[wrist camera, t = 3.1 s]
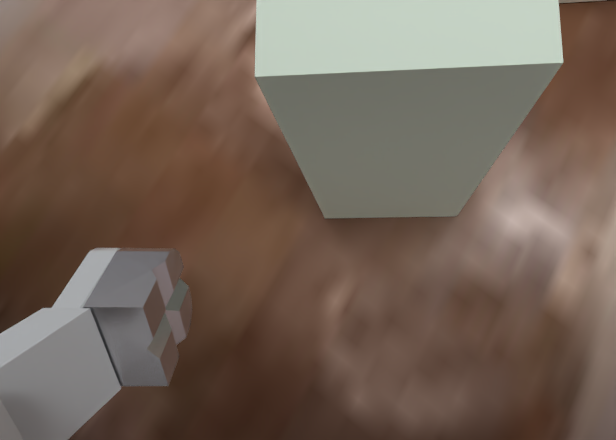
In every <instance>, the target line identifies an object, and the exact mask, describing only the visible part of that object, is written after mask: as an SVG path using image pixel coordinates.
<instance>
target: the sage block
mask: <svg viewBox="0 0 616 440" xmlns="http://www.w3.org/2000/svg"><path fill="white" fill-rule="evenodd" d="M562 64H563V53H562V40H561V28H560V15H559V2H558V0H257V6H256V47H255V78H256V80H257V82H258V84H259V86H260V88H261V90H262V92H263V94H264V96H265V98H266V101H267V103H268V105H269V107H270V109H271V111H272V113H273V115H274V117H275V119H276V121H277V123H278V125H279V127H280V129H281V131H282V133H283V135H284V137H285V139H286V141H287V143H288V145H289V147H290V149H291V151H292V153H293V155H294V157H295V159H296V161H297V163H298V165H299V167H300V169H301V171H302V173H303V175H304V177H305V179H306V181H307V183H308V185H309V187H310V189H311V191H312V193H313V195H314V197H315V199H316V201H317V203H318V205H319V207H320V209H321V211H322V213H323V215H324V218H385V217H448V216H457V215H458V214H459V213H460V211H461V210H462V208H463V207H464V205H465V204H466V202H467V201H468V200H469V198H470V197H471V195H472V194H473V192H474V191H475V189H476V188H477V187H478V185H479V184H480V182H481V181H482V179H483V178H484V176H485V175H486V174H487V172H488V171H489V169H490V168H491V166H492V165H493V163H494V162H495V161H496V159H497V158H498V156H499V155H500V153H501V152H502V150H503V149H504V148H505V146H506V145H507V143H508V142H509V140H510V139H511V137H512V136H513V135H514V133H515V132H516V130H517V129H518V127H519V126H520V124H521V123H522V122H523V120H524V119H525V117H526V116H527V114H528V113H529V111H530V110H531V109H532V107H533V106H534V104H535V103H536V101H537V100H538V98H539V97H540V96H541V94H542V93H543V91H544V90H545V88H546V87H547V85H548V84H549V83H550V81H551V80H552V78H553V77H554V75H555V74H556V72H557V71H558V70H559V68H560V67H561V65H562Z"/></svg>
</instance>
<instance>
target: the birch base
mask: <svg viewBox="0 0 616 440" xmlns="http://www.w3.org/2000/svg"><path fill="white" fill-rule="evenodd" d="M588 1H605V0H558V2H559V3H570V2H588Z"/></svg>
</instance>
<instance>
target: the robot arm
mask: <svg viewBox="0 0 616 440" xmlns="http://www.w3.org/2000/svg"><path fill="white" fill-rule="evenodd" d="M183 268H184V266H183V263H182V259H181V256H180V253H179V252H178V251H177V250H176V249H166V248H95V249H93V250H91V251H89V253H88V254H87V256H86V257H85V259H84V260H83V261H82V263H81V264H80V266H79V267H78V269H77V270H76V272H75V273H74V275H73V276H72V278H71V279H70V281H69V282H68V284H67V285H66V287H65V288H64V290H63V291H62V293H61V294H60V296H59V297H58V299H57V300H56V302H55V303H54V305H53V306H52V308H42V309H41V310H39V311H37V312H36V313H34V314H32V315H31V316H29V317H27V318H26V319H24V320H22V321H21V322H19V323H17V324H16V325H14V326H12V327H11V328H9V329H7V330H6V331H4V332H2V333H1V334H0V440H68V439H69V438H70V437H71V436H72V435H73V434H74V433H75V432H76V431H77V430H78V429H79V428H80V427H82V426H83V425H84V424H85V423H86V422H87V421H88V420H89V419H90V418H91V417H92V416H93V415H94V414H95V413H96V412H97V411H98V410H99V409H100V408H102V407H103V406H104V405H105V404H106V403H107V402H108V401H109V400H110V399H111V398H112V397H113V396H114V395H115V394H116V393H117V392H118V391H119V390H120V389H121V386H169V383H170V380H171V378H172V375H173V372H174V369H175V367H176V364H177V361H178V359H179V353H178V350H177V346H176V345H177V344H178V343H180V342H181V341H182V340H183V339H185V338H186V337H187V334H188V331H189V328H190V325H191V316H192V299H191V293H190V289H189V286H188V285H187V284H186V283H185V282H183V281H182V280H181V279H180V275H181V273H182V270H183Z"/></svg>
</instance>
